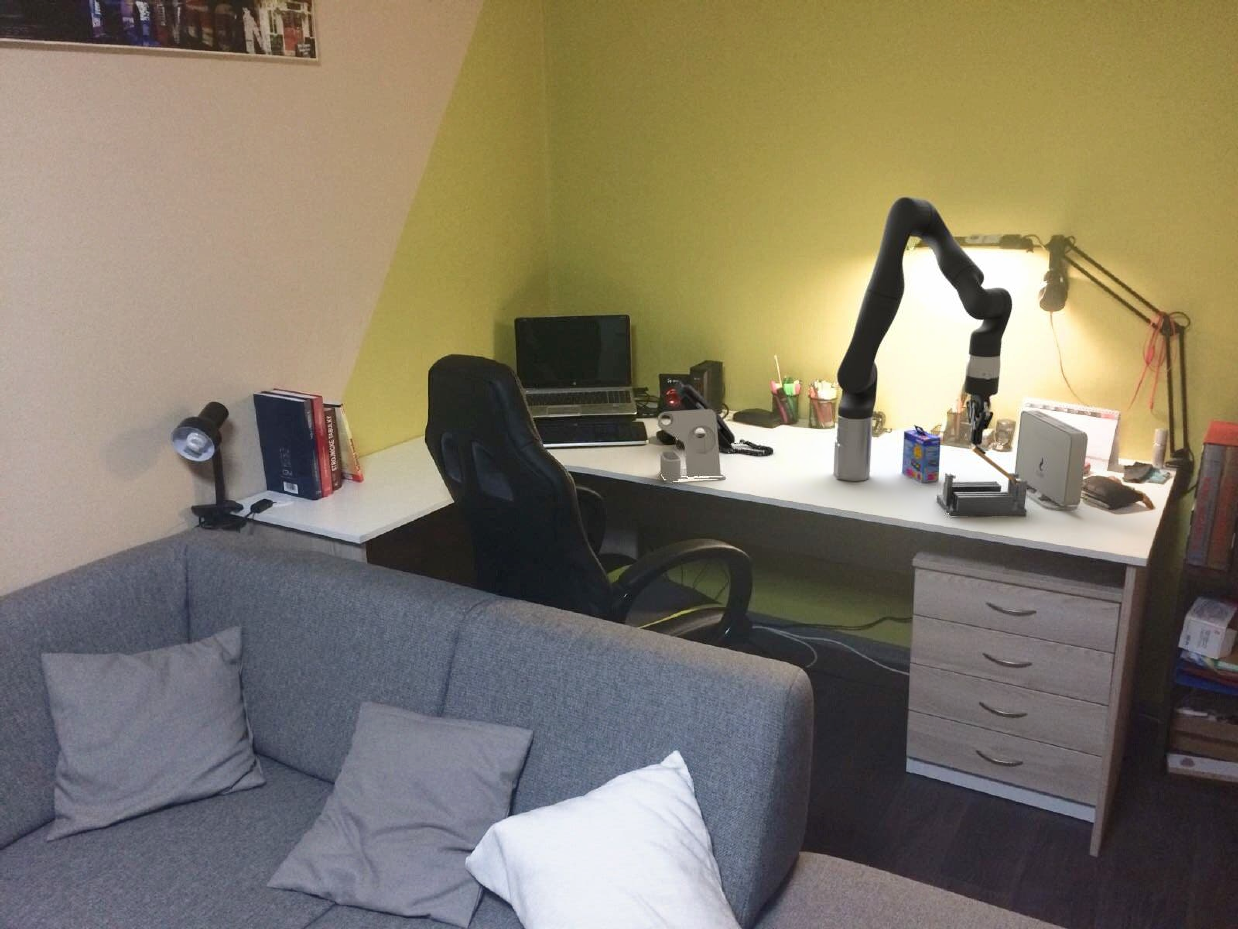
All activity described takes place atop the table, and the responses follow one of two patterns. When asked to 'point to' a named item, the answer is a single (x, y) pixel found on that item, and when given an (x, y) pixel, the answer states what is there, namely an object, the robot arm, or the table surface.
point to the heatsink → (983, 498)
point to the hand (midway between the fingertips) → (976, 443)
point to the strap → (992, 463)
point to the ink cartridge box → (921, 455)
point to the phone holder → (691, 445)
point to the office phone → (725, 436)
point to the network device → (1051, 459)
